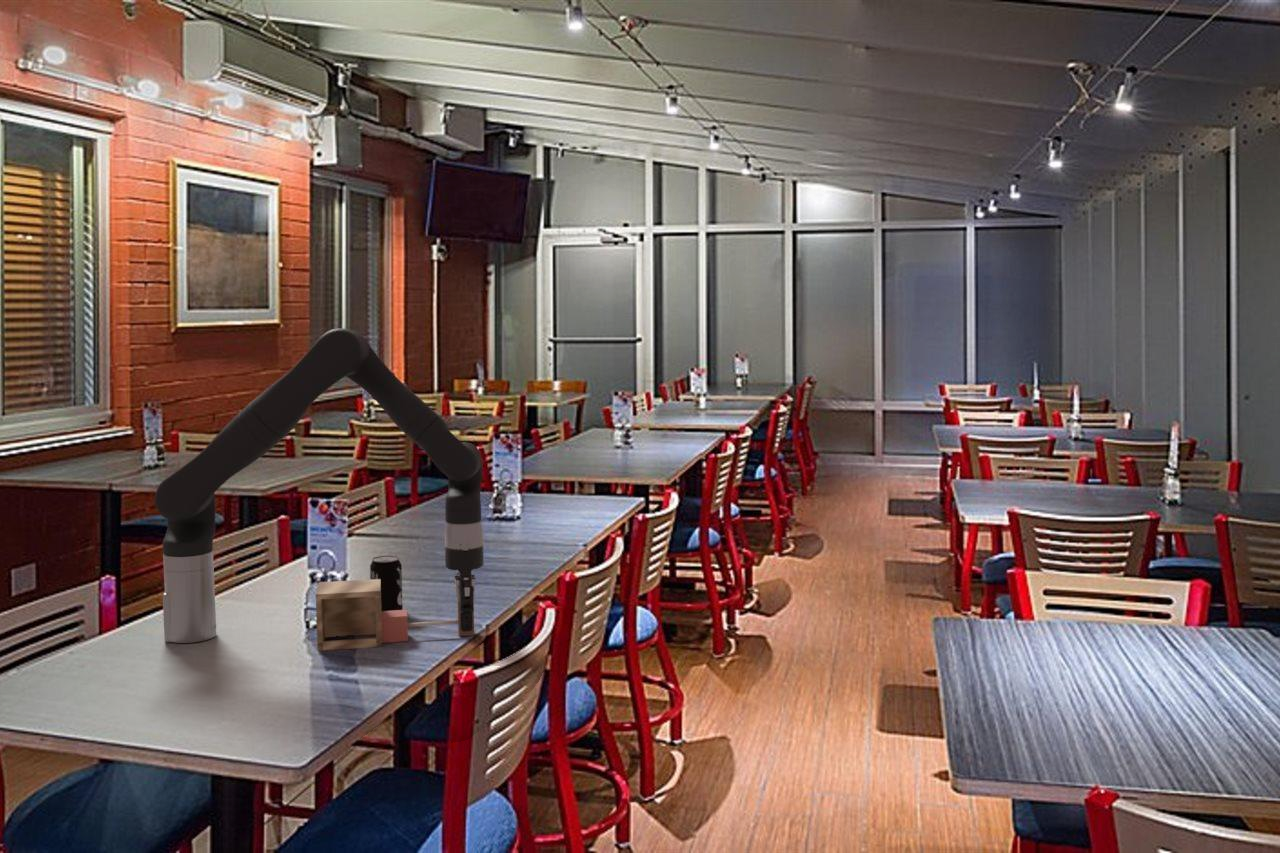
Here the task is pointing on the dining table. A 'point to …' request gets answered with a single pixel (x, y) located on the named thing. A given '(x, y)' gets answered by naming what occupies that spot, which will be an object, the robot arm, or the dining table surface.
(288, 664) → the dining table surface
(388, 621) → the corded block
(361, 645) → the oak shelf
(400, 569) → the beverage can
